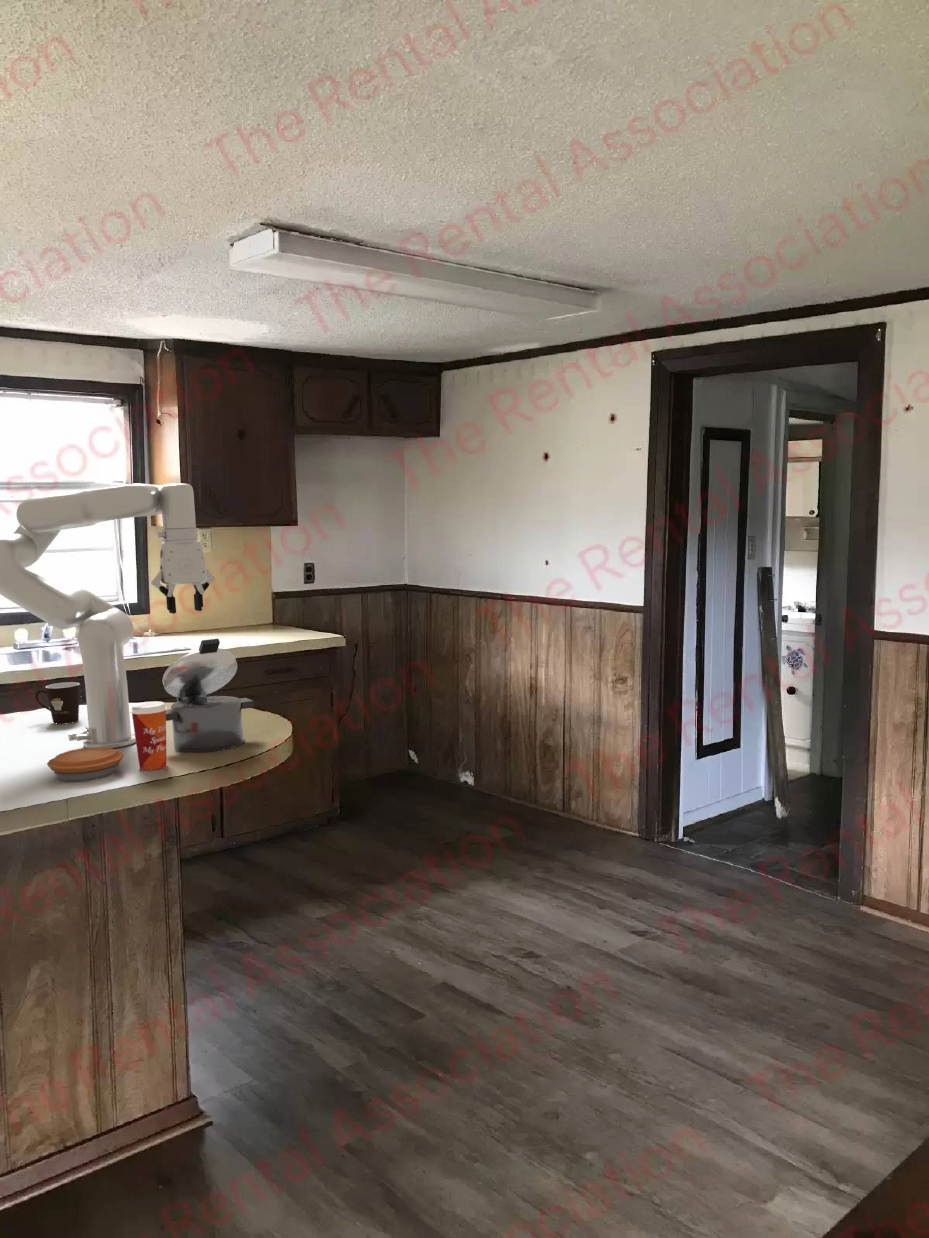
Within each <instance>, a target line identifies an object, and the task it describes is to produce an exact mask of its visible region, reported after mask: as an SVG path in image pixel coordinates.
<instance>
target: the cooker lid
mask: <svg viewBox="0 0 929 1238" xmlns="http://www.w3.org/2000/svg"><path fill="white" fill-rule="evenodd" d="M220 643H221V642H220V638H212V639H204V640H200V645H199V647H198V650H195V651H191V652H189V653H187V654H185V655H183V656H181V657H179V658H177V659H176V660H175V661H174V662H172V663H171V664H170V665H169V666H168V667H167V669H166V670H165V671H164V673H163V676H162V684H163V687H164V690H165V692H166V693H168V694H169V695H170V696H172V697H175V698H177V697H178V698H181V700H186V699H192V698H199V697H208V696H207V695H209V694H212V693H214V692H216V691H218V690H220V689H222V688H223V687H225V685H227V684H228V683H229V682H230V681H231V680H232V679H233V678H234V676H235V675H236V673H237V670H238V662H237V660H236V657H235V655H234V654H233V653H232V652H230V651H229V650H227V649H224V648H219V647H220Z"/></svg>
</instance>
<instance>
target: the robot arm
mask: <svg viewBox="0 0 929 1238" xmlns="http://www.w3.org/2000/svg"><path fill="white" fill-rule="evenodd" d="M15 515H16V519H17V522H18V524H19V526H18V527H17V529H16V530H15V531H14V532H13V533H12V534H11V533H10V534H9V533H8V534H0V596H3V598H5V599H7V600H9V601H11V602H12V603H14V604H16V605H17V606H18V607H21V608H22V609H24V610H25V611H27V612H29V613H30V614H32V615H33V616H36V618H38V619H40V620H42V621H43V622H45V623H47V624H48V625H50V626H51V627H53V628H55V629H58V630H68V629H72V628H76V629H78V634H77V641H78V642H77V643H78V648H79V651H80V655H81V656H80V657H81V660H82V666H83V676H84V685H85V698H86V710H87V721H88V725H86V726H85V727H84V729H81V731H73V732H68V734H67V735H68V736H67V738H68V741H69V742H73V741H76V742H79V741H82V743H83V745H82V746H83V747H84V748H96V747H106V748H112V749H115V748H122V747H126V746H130V745H133V744H136V739H135V732H134V733H133V732H132V727H131V717H130V716H131V715H130V714H131V713H130V702H129V691H128V690H129V689H128V679H127V670H126V669H127V668H126V663H125V658H124V654H123V650H122V648H123V646H126V644H128V643H129V642H130V641H131V639H132V638H133V634H134V624H133V621H132V620H131V618H130V616H128V614H126V613H125V612H124V611H122V610H121V609H120V608H118V607H116V606H114V605H112V604H111V603H110V602H108V601H106V600H104V599H102V598H101V597H99V596H97V595H96V594H94V593H92V592H90V591H88V590H87V589H83V588H80V587H67V588H62V587H59V586H58V585H56V584H54V583H52V582H50V581H49V580H47V579H45V578H44V577H42V576H40V575H39V574H36V573H34V572H32V571H30V570H28V569H26V568H28V567H31V566H32V565H33V564H35V563H36V562H37V561H38V560H39V559H40V558H41V556H42V555H43V554H44V553H45V551H46V550H47V549H48V547H49V546H50V545H51V544H52V542H53V541H54V540H55V539H56V538H57V536H58V535H59V533H60V532H61V531H62V530H69V529H70V530H71V529H77V528H78V529H79V528H85V527H90V526H91V527H92V526H94V525H96V524H98V523H102V522H107V521H113V520H121V519H129V518H137V517H138V518H139V517H151V516H156V515H161V517H162V519H161V520H162V531H159V532H157V538H158V539H162V540H163V542H161V544H160V551H159V571H158V573H156V575H155V576H154V577H153V579H152V580H151V582H150V584H151V585H152V586H153V587H154V588H156V589H157V590H158V591H159V592H160V593H162V594H163V595H164V596H165V597H166V598H165V600H166V610H167V611H168V613H169V614H173V615H174V614H176V613H177V606H176V605H177V604H176V603H177V602H176V597H175V596H174V591H175V587H176V585H186V584H189V585H192V586H193V589H194V590H195V591H194V592H195V593H194V594H193V602H194V603H193V604H194V605H193V606H194V610H195V611H198V612H202V611H203V607H204V597H203V595H204V593H205V591H206V590H208V588H209V587H210V585H211V584H212V583H213V582H214V581H215V576H214V575H213V574H212V573H211V572H209V570H208V569H207V565H206V560H205V555H204V549H203V546H202V545H203V544H202V543H201V542H202V541H200V540H198V539H197V527H196V526H197V525H196V523H197V522H196V511H195V495H194V488H193V486H192V484H188V483H170V484H169V483H168V484H167V483H166V484H163V485H161V484H160V485H158V484H150V483H149V484H148V483H132V484H130V483H129V484H123V485H118V486H117V485H116V486H110V487H103V488H102V487H101V488H98V489H97V488H95V489H82V490H75V491H68V492H67V491H66V492H60V493H53V494H47V495H46V494H45V495H40V496H31V497H28V498H26V499H24V500H22V502H20V503H19V505H18V506H17V509H16V514H15ZM162 584H165V586H164V585H162Z"/></svg>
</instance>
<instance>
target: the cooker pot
mask: <svg viewBox="0 0 929 1238" xmlns="http://www.w3.org/2000/svg"><path fill="white" fill-rule="evenodd" d="M254 707H255V706H254V700H252V699H250V698H247V697H242V698H239V697H237V696H227V695H225V696H224V695H219V696H218V695H214V696H206V697H199V698H192V699H186V700H181V698H178V697H176V702H174V703H172V704H171V705H170V708H169V709H168V708H167V710H166V722H169V721H171V722H172V737H173V747H174V750H175V749H177V750H178V752H181V751H182V752H183V753H189V752H190V753H193V754H194V753H211V752H219V751H218V750H220V751H223V750H222V749H226V750H229V749H228V748H230V749H232V748H231V747H233V746H236V747H238V745H239V746H241V745H242V744H243V743H244V729H243V715H242V710H245V709H251V708H254ZM241 743H242V744H241ZM240 744H241V745H240ZM233 748H234V747H233ZM177 750H176V751H177ZM190 753H189V754H190Z"/></svg>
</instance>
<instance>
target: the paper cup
mask: <svg viewBox="0 0 929 1238" xmlns="http://www.w3.org/2000/svg"><path fill="white" fill-rule="evenodd" d="M166 710H168V708H167V706H166V704H165V702H163V701H157V700H154V701H144V702H142V701H141V702H138V703H135V704H132V706H131V710H129V714H131V716H132V722H133V723H132V724H133V730H134V734H135V739H136V742H135V744H136V751H137V759H138V765H139V770H141V771H146V772H147V770H149V771H156V770H162V769H164V768H166V767H167V721H166ZM149 771H148V772H149Z"/></svg>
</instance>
